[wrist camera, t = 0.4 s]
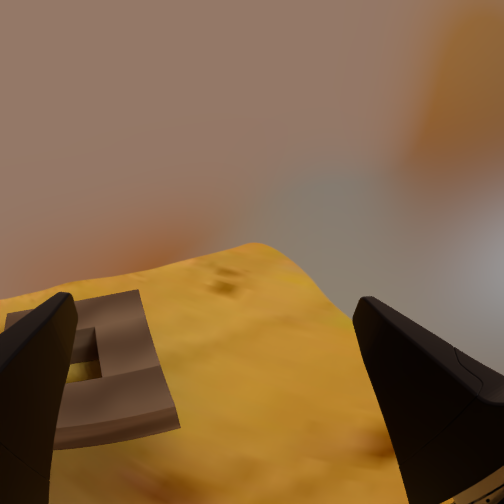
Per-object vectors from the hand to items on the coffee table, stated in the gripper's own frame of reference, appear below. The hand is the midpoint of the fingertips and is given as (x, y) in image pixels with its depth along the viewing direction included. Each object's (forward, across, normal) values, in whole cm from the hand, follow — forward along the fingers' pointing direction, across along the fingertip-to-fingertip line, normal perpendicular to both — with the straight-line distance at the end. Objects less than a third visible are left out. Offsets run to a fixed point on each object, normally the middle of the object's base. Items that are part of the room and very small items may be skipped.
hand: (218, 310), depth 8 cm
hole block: (+7, +11, +16) cm, 21 cm away
